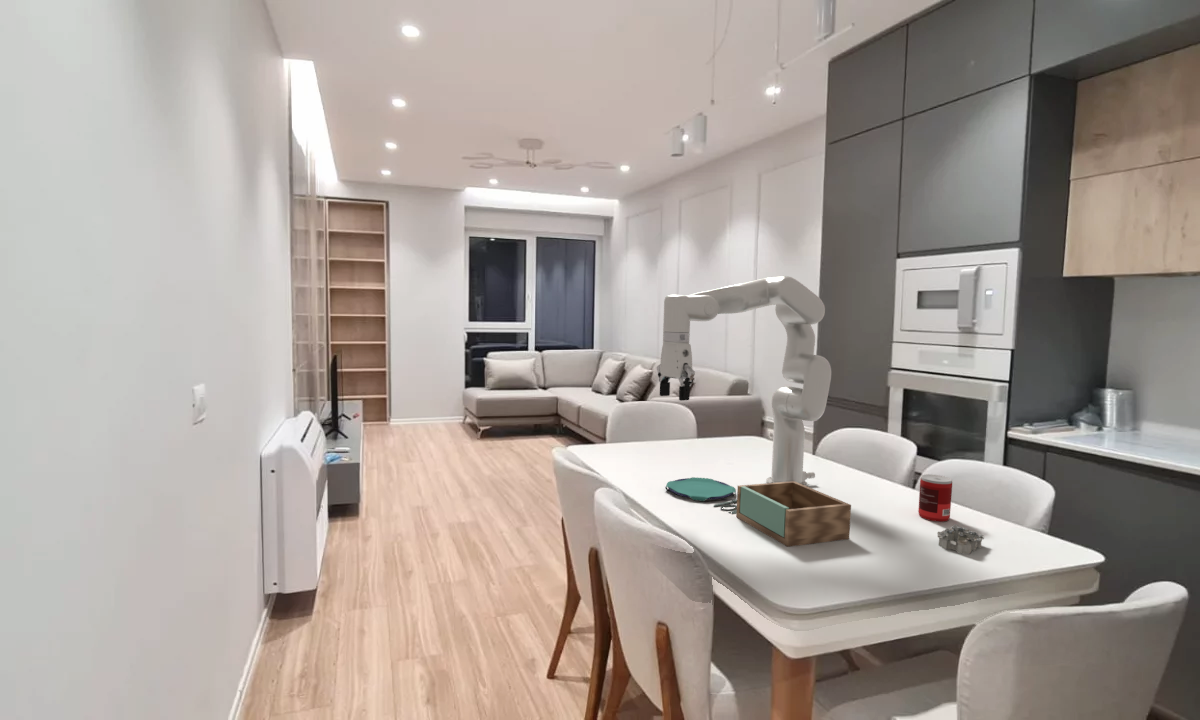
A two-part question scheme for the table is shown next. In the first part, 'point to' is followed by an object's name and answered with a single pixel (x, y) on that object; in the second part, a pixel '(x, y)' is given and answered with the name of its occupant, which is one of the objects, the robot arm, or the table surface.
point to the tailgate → (763, 510)
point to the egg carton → (959, 539)
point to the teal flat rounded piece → (703, 490)
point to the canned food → (935, 497)
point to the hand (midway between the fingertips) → (674, 397)
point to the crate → (803, 514)
